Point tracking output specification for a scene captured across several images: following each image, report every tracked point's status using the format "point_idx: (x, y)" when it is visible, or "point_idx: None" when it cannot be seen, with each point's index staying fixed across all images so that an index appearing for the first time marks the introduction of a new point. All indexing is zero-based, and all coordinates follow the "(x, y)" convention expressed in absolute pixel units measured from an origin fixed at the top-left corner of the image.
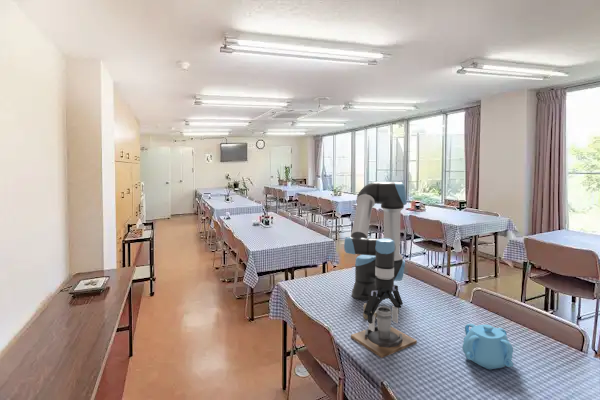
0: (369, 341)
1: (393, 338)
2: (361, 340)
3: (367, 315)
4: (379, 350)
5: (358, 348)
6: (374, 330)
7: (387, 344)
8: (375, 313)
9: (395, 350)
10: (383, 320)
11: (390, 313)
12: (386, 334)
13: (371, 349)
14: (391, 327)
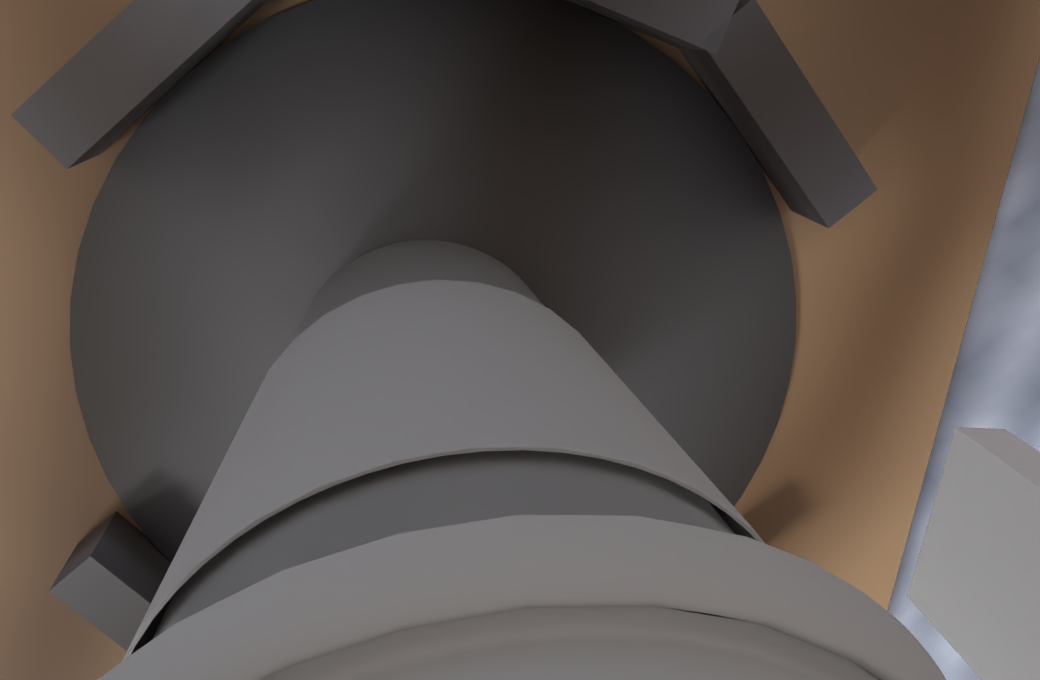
0: (804, 417)
1: (300, 185)
2: (882, 522)
3: None
4: (954, 57)
5: (1026, 407)
6: (976, 438)
7: (760, 21)
8: None
9: None
10: (753, 531)
11: (433, 631)
12: (506, 285)
13: (982, 212)
14: None
